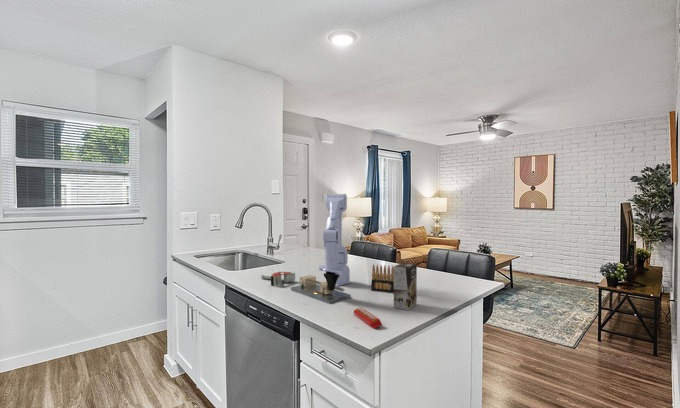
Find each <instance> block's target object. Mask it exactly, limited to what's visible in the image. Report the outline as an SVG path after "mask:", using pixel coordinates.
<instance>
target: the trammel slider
mask: <svg viewBox="0 0 680 408" xmlns="http://www.w3.org/2000/svg"><path fill="white" fill-rule="evenodd" d="M321 282H322V283H320V284H319V285H320V290H321V293H322V294H326V295H327V294H331V293H333V290H332V291H330V290H329V288H328V284H327V281H326V280H325V281H321Z"/></svg>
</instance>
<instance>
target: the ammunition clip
mask: <svg viewBox="0 0 680 408" xmlns="http://www.w3.org/2000/svg"><path fill="white" fill-rule="evenodd" d="M370 285H371V286H370V288H371V289H370V291H371V292H380V293H392V294H394V265H392V266H391V268H390V265H388V266H387V267H386V264H384V266H382V264H380V267H379V265H378V264H376V266H375V264H372V268H371V284H370Z"/></svg>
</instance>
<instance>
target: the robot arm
mask: <svg viewBox="0 0 680 408" xmlns="http://www.w3.org/2000/svg"><path fill="white" fill-rule="evenodd" d="M347 202H348V196H347V194H346V193H326V195H325V206H326V209H327V210H328V211H329V216H328V217H327V219H326V225H325V229H324V230H323V233H322V234H323V235H322V239H323V240H322V241H323V248H324V265H318V271H321V272H322V271H323V272H324V273H323V277H324V278H325V282H326V281H327V284H328V288H329V290H330V291H332V290H336V289H335V286H337V287H340V286H343V285H347V284H351V283H352V281H350V280H351V279H350V276H351V275H350V267H349V265H348V258H349V257H348V249H347V248H346V247H345V246H344V245H343V242H342V241H343V240H342V239H343V232H342V231H343V227H342V225H343V222H342V221H343V218H342V217H343V212H346V211H347V208H348V205H347V204H348V203H347Z"/></svg>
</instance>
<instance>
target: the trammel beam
mask: <svg viewBox="0 0 680 408" xmlns="http://www.w3.org/2000/svg"><path fill="white" fill-rule="evenodd" d="M322 282H323V281H320V280H317V276H315V275H311V274H309V275H308V274H307V275H304V276H303V275H302V276H300V277H299V285H300V286H301V287H304V288H308V287H312V286H316V284H318V285H320V283H322ZM334 290H337V291H340V292H345V291H346V290H345V287H344V288H343V287H340V286H335V289H334Z"/></svg>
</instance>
